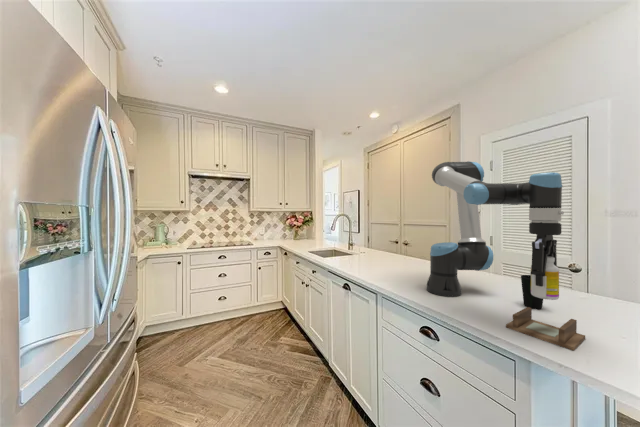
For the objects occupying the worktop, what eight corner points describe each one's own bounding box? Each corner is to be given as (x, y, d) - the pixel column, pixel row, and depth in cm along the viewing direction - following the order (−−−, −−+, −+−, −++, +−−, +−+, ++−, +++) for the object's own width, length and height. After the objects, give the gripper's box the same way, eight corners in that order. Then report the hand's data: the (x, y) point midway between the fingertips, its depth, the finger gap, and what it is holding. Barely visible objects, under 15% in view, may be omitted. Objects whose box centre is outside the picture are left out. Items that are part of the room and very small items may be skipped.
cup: (550, 311, 94) (550, 280, 94) (528, 309, 96) (528, 279, 95) (537, 303, 102) (537, 275, 101) (516, 302, 103) (516, 274, 103)
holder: (505, 327, 81) (506, 312, 81) (520, 318, 87) (520, 305, 87) (573, 350, 67) (573, 332, 67) (585, 338, 74) (585, 322, 74)
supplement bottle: (564, 301, 73) (565, 259, 73) (538, 299, 75) (539, 258, 75) (549, 294, 80) (549, 255, 80) (526, 292, 81) (526, 254, 81)
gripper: (549, 223, 69) (549, 304, 69) (570, 221, 79) (570, 291, 79) (517, 222, 75) (517, 296, 75) (540, 220, 85) (540, 286, 86)
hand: (544, 293), depth 77 cm, fingers closed on supplement bottle, 7 cm apart
